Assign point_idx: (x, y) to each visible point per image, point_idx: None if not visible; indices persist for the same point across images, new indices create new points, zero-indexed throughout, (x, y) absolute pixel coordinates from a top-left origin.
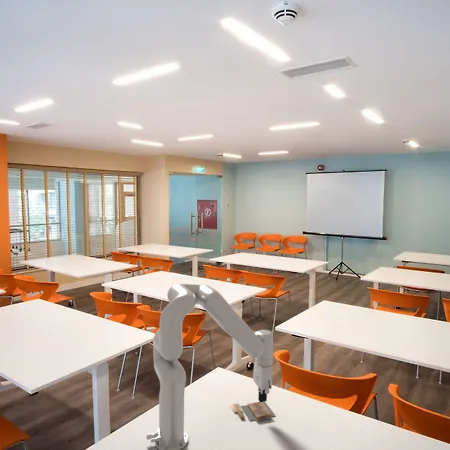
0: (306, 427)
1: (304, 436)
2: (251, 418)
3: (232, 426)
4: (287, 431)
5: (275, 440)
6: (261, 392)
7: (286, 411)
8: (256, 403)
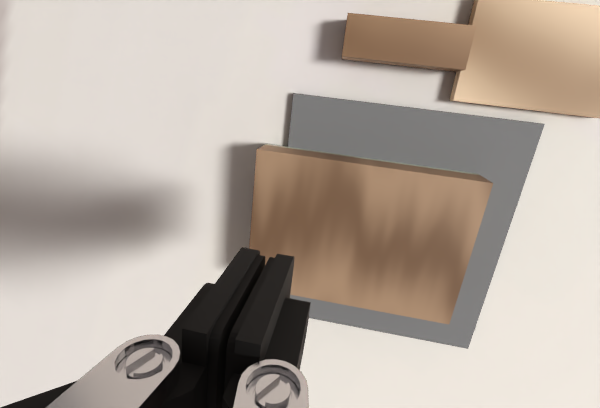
0: None
1: (49, 329)
2: (314, 121)
3: None
4: (107, 277)
5: (41, 156)
6: (109, 365)
7: None
8: (448, 264)
